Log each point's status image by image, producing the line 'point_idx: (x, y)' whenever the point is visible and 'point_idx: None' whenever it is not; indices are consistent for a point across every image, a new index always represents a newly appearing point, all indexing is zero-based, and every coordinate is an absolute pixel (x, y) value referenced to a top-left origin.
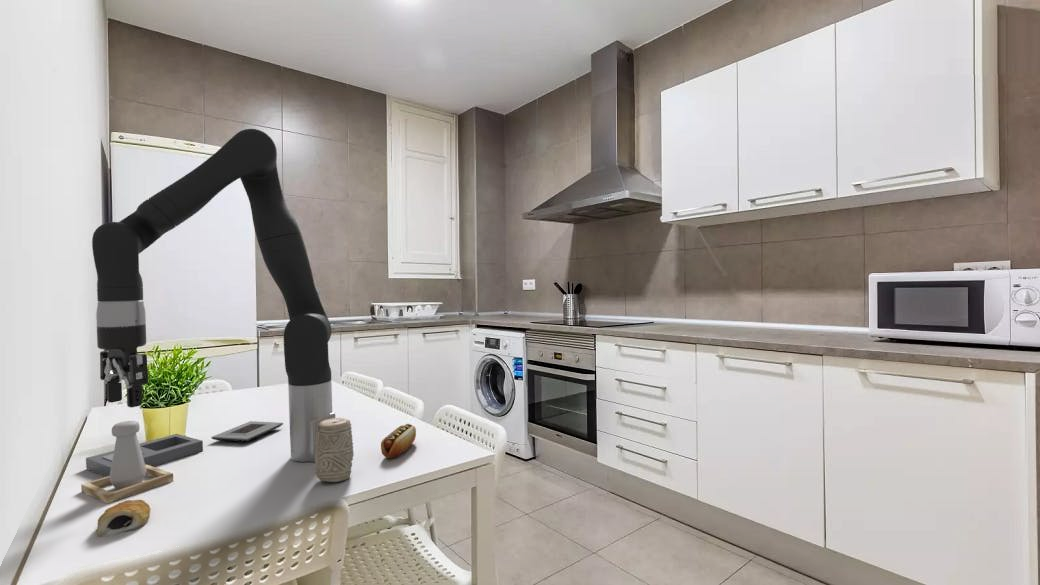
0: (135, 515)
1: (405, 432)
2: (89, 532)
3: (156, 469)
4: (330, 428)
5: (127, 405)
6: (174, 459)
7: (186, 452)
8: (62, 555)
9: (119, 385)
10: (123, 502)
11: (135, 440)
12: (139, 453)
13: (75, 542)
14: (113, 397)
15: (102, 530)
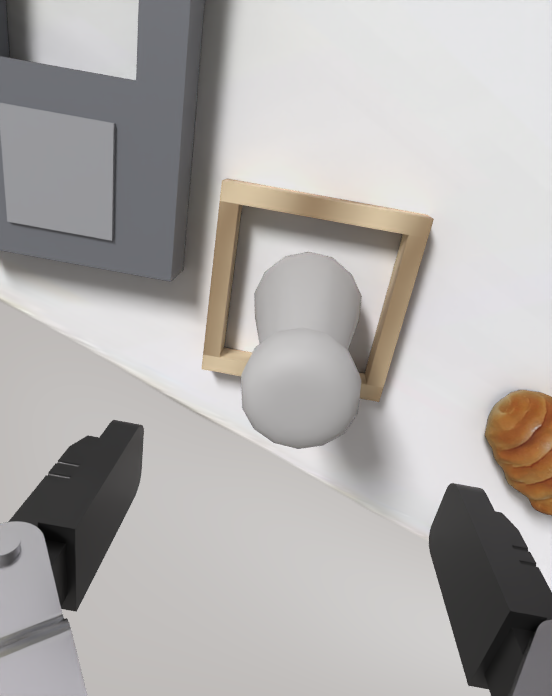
0: None
1: None
2: (498, 491)
3: (322, 208)
4: None
5: (434, 552)
6: (201, 35)
7: None
8: (538, 554)
9: (86, 523)
10: (550, 468)
11: (337, 341)
12: (344, 310)
13: (511, 521)
14: (129, 487)
15: None
